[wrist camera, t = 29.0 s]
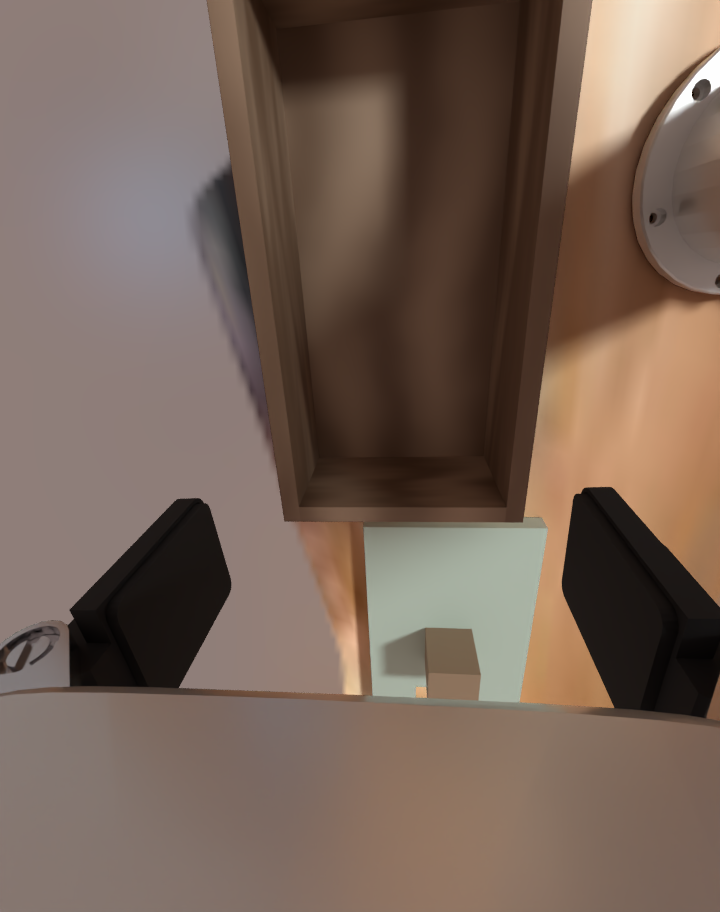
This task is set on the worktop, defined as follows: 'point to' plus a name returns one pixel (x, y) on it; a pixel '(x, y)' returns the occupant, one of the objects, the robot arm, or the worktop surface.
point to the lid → (452, 606)
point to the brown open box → (401, 240)
